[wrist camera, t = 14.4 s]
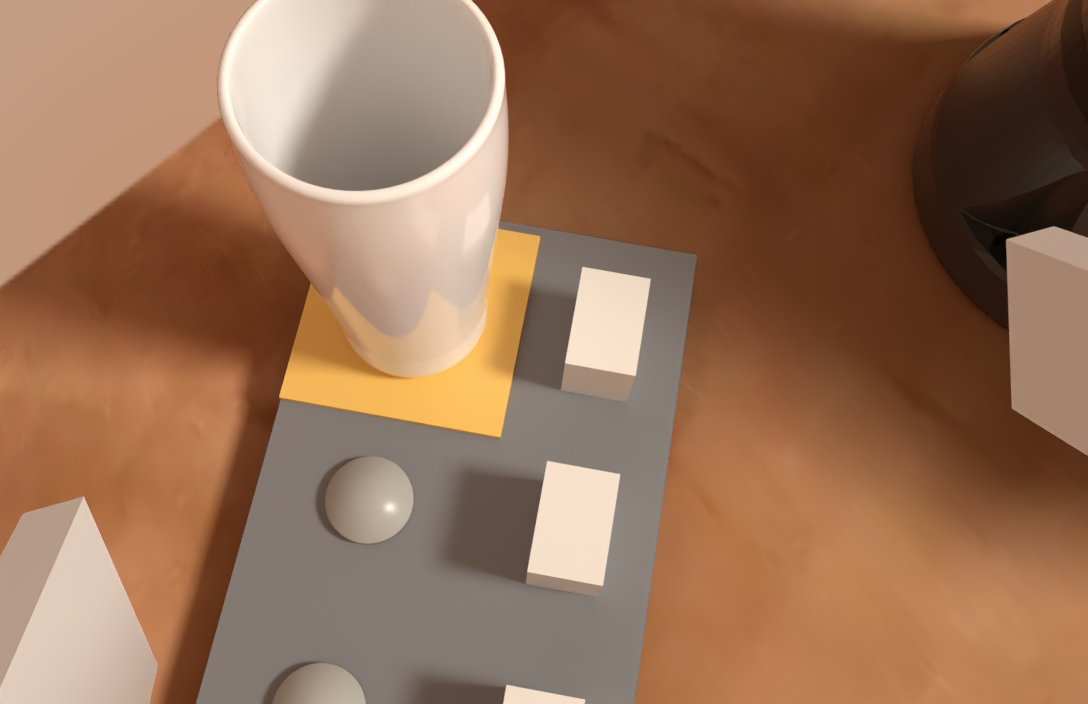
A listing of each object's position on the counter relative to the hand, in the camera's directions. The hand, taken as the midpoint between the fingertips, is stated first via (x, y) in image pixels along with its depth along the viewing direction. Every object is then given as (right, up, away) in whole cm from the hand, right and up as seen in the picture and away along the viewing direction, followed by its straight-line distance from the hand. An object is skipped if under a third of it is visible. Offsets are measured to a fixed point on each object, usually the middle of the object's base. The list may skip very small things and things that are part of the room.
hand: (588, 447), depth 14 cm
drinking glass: (-5, +3, +24) cm, 24 cm away
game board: (-4, -5, +23) cm, 23 cm away
